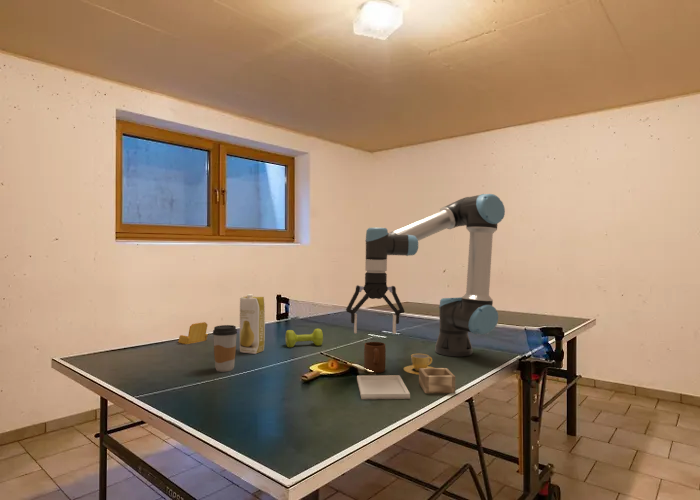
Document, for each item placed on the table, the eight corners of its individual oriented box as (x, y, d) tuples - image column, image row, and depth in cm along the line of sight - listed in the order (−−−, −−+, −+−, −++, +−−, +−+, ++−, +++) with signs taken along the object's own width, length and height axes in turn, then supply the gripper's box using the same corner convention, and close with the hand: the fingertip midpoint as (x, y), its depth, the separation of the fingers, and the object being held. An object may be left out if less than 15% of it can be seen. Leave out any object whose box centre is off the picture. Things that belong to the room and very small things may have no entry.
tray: (399, 379, 140) (399, 375, 140) (410, 398, 122) (410, 393, 122) (357, 380, 140) (357, 375, 140) (361, 399, 122) (361, 394, 122)
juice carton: (236, 352, 176) (237, 294, 176) (248, 348, 183) (248, 292, 183) (256, 355, 172) (256, 295, 172) (266, 350, 179) (267, 293, 180)
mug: (388, 377, 143) (388, 349, 143) (365, 377, 143) (365, 349, 143) (384, 367, 155) (384, 341, 155) (363, 367, 155) (363, 341, 155)
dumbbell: (320, 343, 196) (320, 327, 196) (324, 346, 188) (324, 330, 188) (284, 345, 191) (284, 328, 191) (286, 349, 184) (287, 332, 184)
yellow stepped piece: (197, 338, 203) (197, 319, 203) (209, 341, 198) (209, 321, 198) (177, 342, 195) (177, 322, 195) (189, 345, 189) (189, 324, 189)
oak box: (446, 383, 137) (446, 368, 137) (455, 393, 128) (455, 376, 128) (418, 383, 136) (419, 368, 136) (425, 393, 127) (425, 376, 127)
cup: (416, 377, 144) (416, 361, 144) (397, 368, 155) (397, 353, 155) (444, 373, 149) (444, 357, 149) (424, 364, 160) (424, 350, 160)
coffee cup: (241, 367, 154) (241, 325, 154) (227, 373, 146) (228, 329, 146) (221, 365, 157) (222, 324, 157) (207, 371, 149) (207, 328, 149)
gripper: (409, 272, 153) (408, 331, 153) (339, 270, 152) (338, 330, 152) (413, 273, 146) (412, 335, 146) (340, 271, 145) (339, 334, 145)
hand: (374, 333), depth 149 cm, fingers open, 13 cm apart
